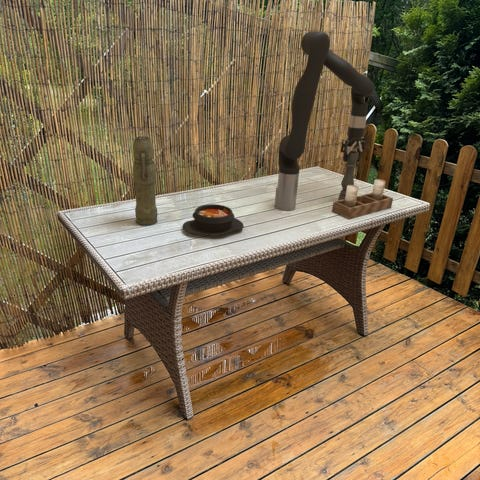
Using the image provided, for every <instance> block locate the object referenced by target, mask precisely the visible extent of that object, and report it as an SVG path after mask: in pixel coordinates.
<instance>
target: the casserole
mask: <svg viewBox="0 0 480 480" xmlns="http://www.w3.org/2000/svg"><path fill="white" fill-rule="evenodd" d="M192 218H193V219H192V220H187V221H184V223H183V224H182V229H183V230H184V231H185V232H186V233H189V234H194V235H206V236H223V235H227V234H230V233H232V232H235V231H239V230H242V229H244V223H243V222H242V221H241V220H239V219H237V218H235V214H234V212H233V210H232V209H231V207H229V206H226V205H222V204H214V203H213V204H212V203H211V204H210V203H209V204H203V205H200V206H197V207H196V208H195V210H194V211H193V213H192Z"/></svg>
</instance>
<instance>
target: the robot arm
mask: <svg viewBox="0 0 480 480" xmlns="http://www.w3.org/2000/svg"><path fill="white" fill-rule="evenodd" d="M330 45H331V39H330V36H329V34H328V33H327V32H325V31H318V30H317V31H316V30H312V31H308V32H306V33H305V34H303V36H302V38H301V41H300V48H301V50H302V52H303V54H305V55H307V61H306V66H305V68H304V71H303V72H302V74H301V77H299V80H298V81H297V83H296V86H295V87H294V91H293V95H292V99H291V100H292V101H291V106H290V107H291V129H290V133H289V134H287V135H284V136H283V137H282V138H281V140H280V141H279V146H278V161H277V163H278V176H277V177H278V179H277V187H275V196H274V197H275V199H274V208H276V209H278V210H280V211H286V212H287V211H293V210H295V209H296V205H297V197H298V196H297V195H298V186H299V176H300V169H301V168H300V165H299V162H298V159H300V158H302V157H301V156H302V155H303V154H304V152H305V149H306V143H307V142H306V141H307V133H308V129H309V128H308V127H309V124H310V120H311V116H312V112H313V107H314V104H315V101H316V96H317V91H318V87H319V82H320V80H321V79H320V78H321V75H322V71H323V68H324V67H325V68H327V69H328V70H329V71H330V72H331V73H332V74H334V75H335V76H336V77H337V78H338V79H339V80H340V81H341V82H343V83H344V84H345V85H346V86H349V87H351V89H350V98H351V109H350V115H349V118H348V119H349V120H348V127H347V133H346V135H347V139H345V138H344V139H342V142H341V147H340V153H343V155H342V161H343V162H345V163H347V161H348V155H349V154H348V153H349V152H350V151H353V149H355V150H356V151H357V152H359V155H358V160H360V159H361V155H362V152H363V151H365V150H366V145H367V137H364V135H365V130H366V124H367V115H368V107H369V106H368V103H367V102H366V101H365V98H368V97H370V96H371V95H373V94H374V92H375V84H374V82H373V81H372V80H371V79H370V78H368V77H367V76H365V75H364V74H362V73H361V72H359V71H358V70H357V69H356V68H355V67H354V66H353V65H352V64H351V63H349V62H348V61H347V60H346V59H345V58H343V57H341V56H339V54H336V53H335V52H334V51H332V50H331V49H330ZM358 160H357V161H358Z"/></svg>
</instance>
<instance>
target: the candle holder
mask: <svg viewBox="0 0 480 480" xmlns="http://www.w3.org/2000/svg"><path fill="white" fill-rule="evenodd" d="M348 154H349V155H348V161H347V162H345V164H344V165H345V172H344V175H343V176H342V180H341V183H340V184H341V185H340V186H341V191H340V192H339V195H338V200H343V199H345V196H346V190H347V186H348V185H355V179H354V177H355V176H354V172H355V168H356V167H357V164H356V163H357V161H358V155H359V152H357V150H350V152H349V153H348Z"/></svg>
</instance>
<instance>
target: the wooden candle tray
mask: <svg viewBox="0 0 480 480" xmlns="http://www.w3.org/2000/svg"><path fill="white" fill-rule="evenodd" d="M386 182H387V181H386V180H384V179H380V178H377V179H374V182H373V186H372V192H369V193H365V194H361V195H358V191H359V186H357V185H355V184H354V185H348V186H347V190H346V196H345V199H343V200H339V199H337V200H335V201H333V202H332V208H331V212H332V213H334V214H336V215H338V216H341V217H342V218H344V219H347V220H352V219H355V218H359V217H362V216H367V215H371V214H374V213H377V212H381V211H385V210H389V209H391V208H392V205H393V201H394V198H393V197H391V196H388V195H386V194H384V191H385V187H386V186H385V185H386Z"/></svg>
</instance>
